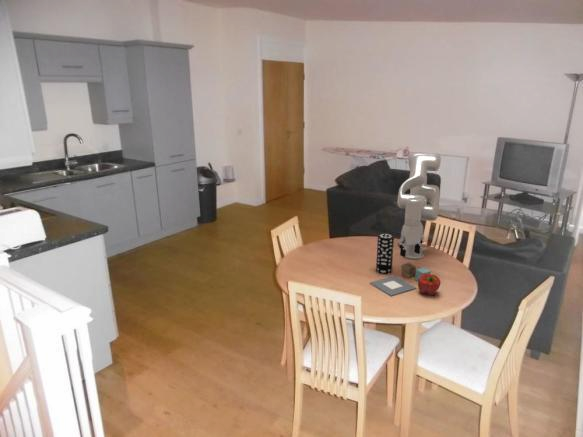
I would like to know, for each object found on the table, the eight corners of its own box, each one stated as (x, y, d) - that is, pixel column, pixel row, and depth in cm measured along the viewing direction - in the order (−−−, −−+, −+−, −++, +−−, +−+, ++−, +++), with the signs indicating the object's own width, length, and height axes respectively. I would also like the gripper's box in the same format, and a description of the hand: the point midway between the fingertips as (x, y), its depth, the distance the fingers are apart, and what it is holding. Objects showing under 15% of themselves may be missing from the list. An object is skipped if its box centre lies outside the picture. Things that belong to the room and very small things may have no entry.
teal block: (422, 278, 219) (423, 267, 217) (429, 281, 215) (430, 271, 213) (415, 280, 217) (416, 269, 215) (422, 284, 212) (423, 273, 211)
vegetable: (444, 297, 199) (446, 277, 196) (424, 299, 197) (426, 280, 194) (432, 287, 209) (434, 268, 206) (413, 289, 207) (414, 270, 204)
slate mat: (394, 276, 221) (394, 275, 221) (416, 288, 207) (416, 287, 207) (369, 283, 214) (369, 282, 213) (391, 296, 200) (391, 295, 200)
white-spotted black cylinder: (382, 275, 222) (384, 239, 216) (372, 269, 229) (374, 235, 223) (395, 272, 226) (397, 237, 220) (385, 266, 233) (387, 232, 227)
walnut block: (408, 273, 225) (409, 262, 223) (415, 276, 220) (416, 266, 219) (401, 275, 222) (402, 264, 221) (408, 279, 218) (408, 268, 216)
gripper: (419, 218, 220) (417, 249, 224) (393, 222, 212) (391, 255, 216) (430, 221, 213) (427, 254, 218) (404, 226, 205) (402, 259, 210)
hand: (409, 254), depth 217 cm, fingers open, 9 cm apart
